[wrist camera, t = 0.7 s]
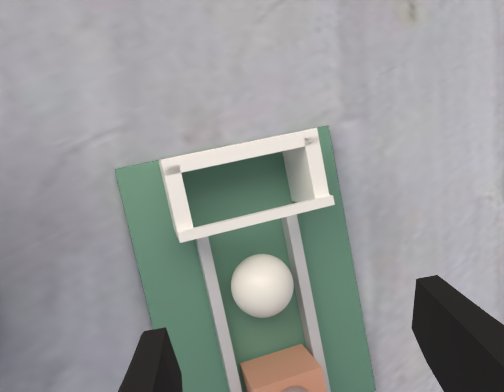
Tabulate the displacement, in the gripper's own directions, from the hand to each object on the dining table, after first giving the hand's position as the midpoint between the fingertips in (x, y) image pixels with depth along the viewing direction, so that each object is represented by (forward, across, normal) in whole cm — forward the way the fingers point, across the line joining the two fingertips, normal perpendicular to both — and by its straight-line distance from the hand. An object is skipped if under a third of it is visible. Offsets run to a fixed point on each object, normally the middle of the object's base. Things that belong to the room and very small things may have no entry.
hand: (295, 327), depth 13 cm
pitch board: (+17, +1, +14) cm, 22 cm away
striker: (+13, 0, +20) cm, 23 cm away
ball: (+14, 0, +12) cm, 18 cm away
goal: (+20, +1, +6) cm, 21 cm away
